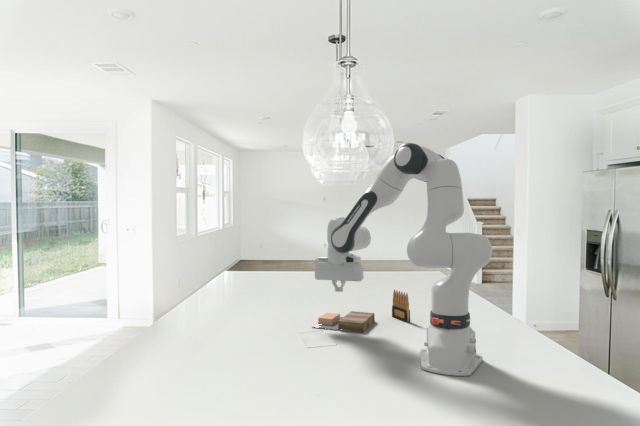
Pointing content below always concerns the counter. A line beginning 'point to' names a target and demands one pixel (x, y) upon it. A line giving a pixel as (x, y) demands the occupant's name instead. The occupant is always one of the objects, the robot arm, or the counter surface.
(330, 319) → the tile
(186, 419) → the counter surface
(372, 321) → the deck
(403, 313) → the ammunition clip
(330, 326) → the mat
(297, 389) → the counter surface
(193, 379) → the counter surface
